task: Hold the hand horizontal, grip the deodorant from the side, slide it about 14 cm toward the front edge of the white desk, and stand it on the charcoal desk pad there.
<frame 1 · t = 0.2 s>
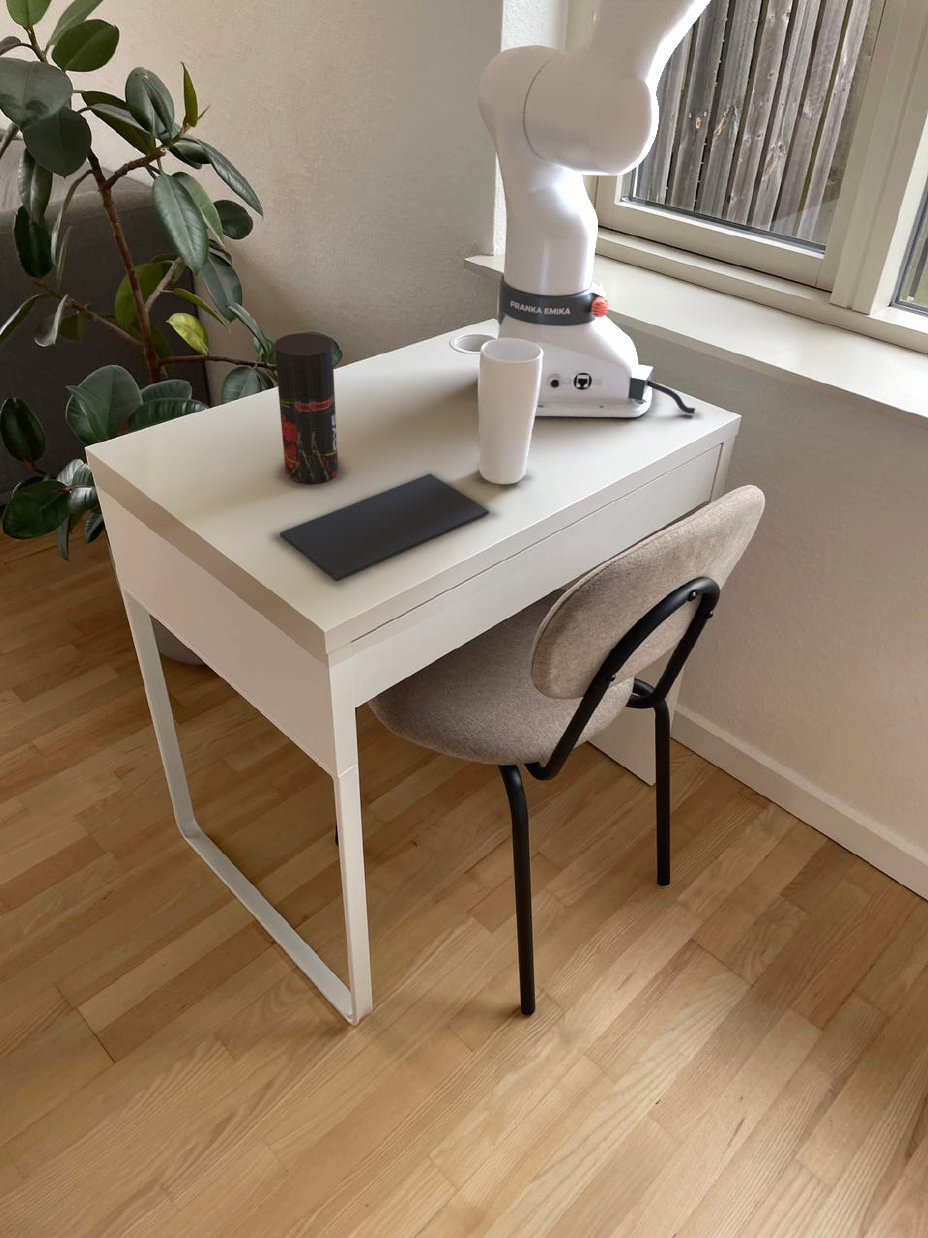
deodorant: (312, 472, 106), on the table
drinking glass: (501, 476, 107), on the table
mat: (387, 524, 98), on the table
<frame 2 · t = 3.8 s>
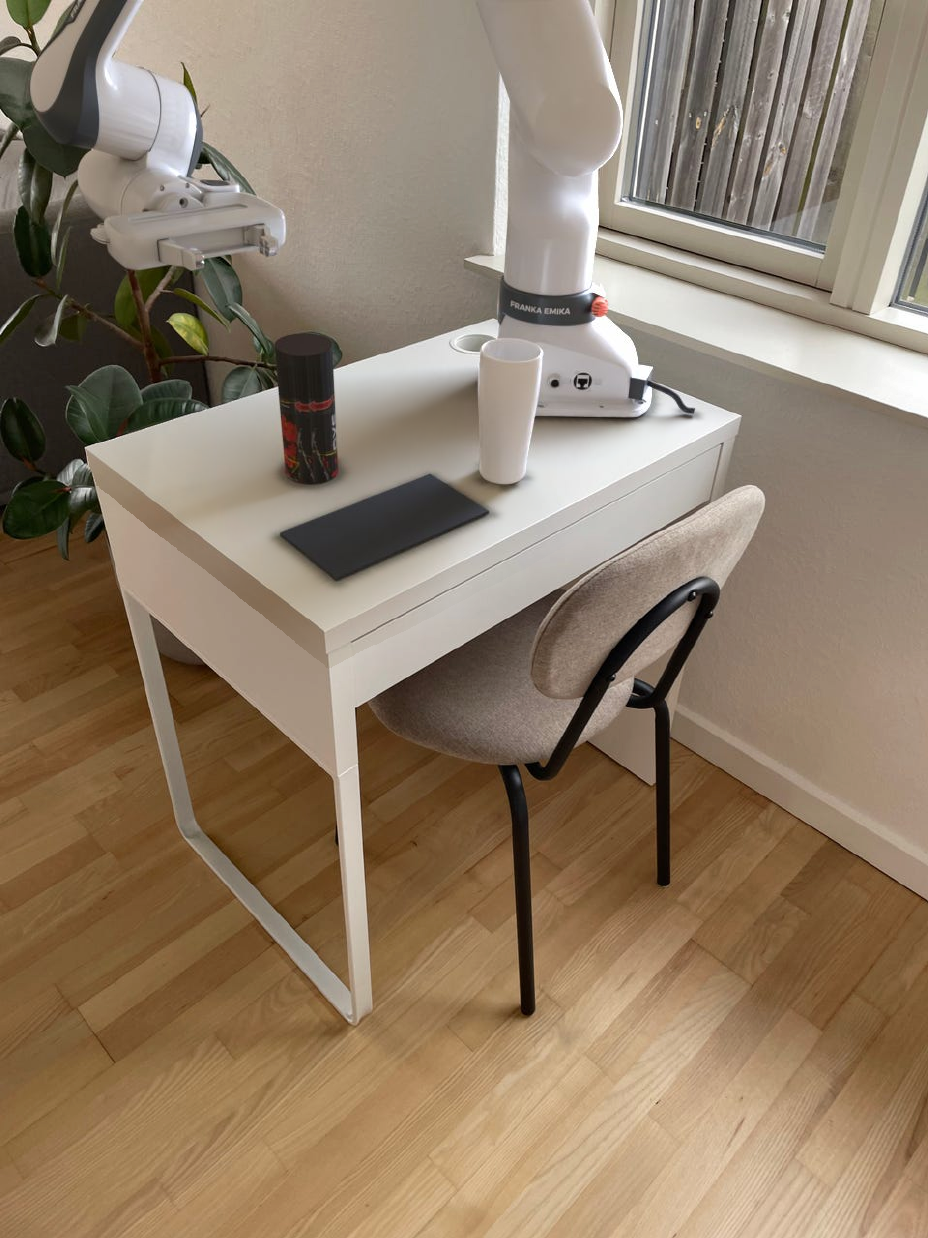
hand: (237, 255, 100), 21 cm above the table, tool horizontal, fingers open, 8 cm apart
nothing on the table moved.
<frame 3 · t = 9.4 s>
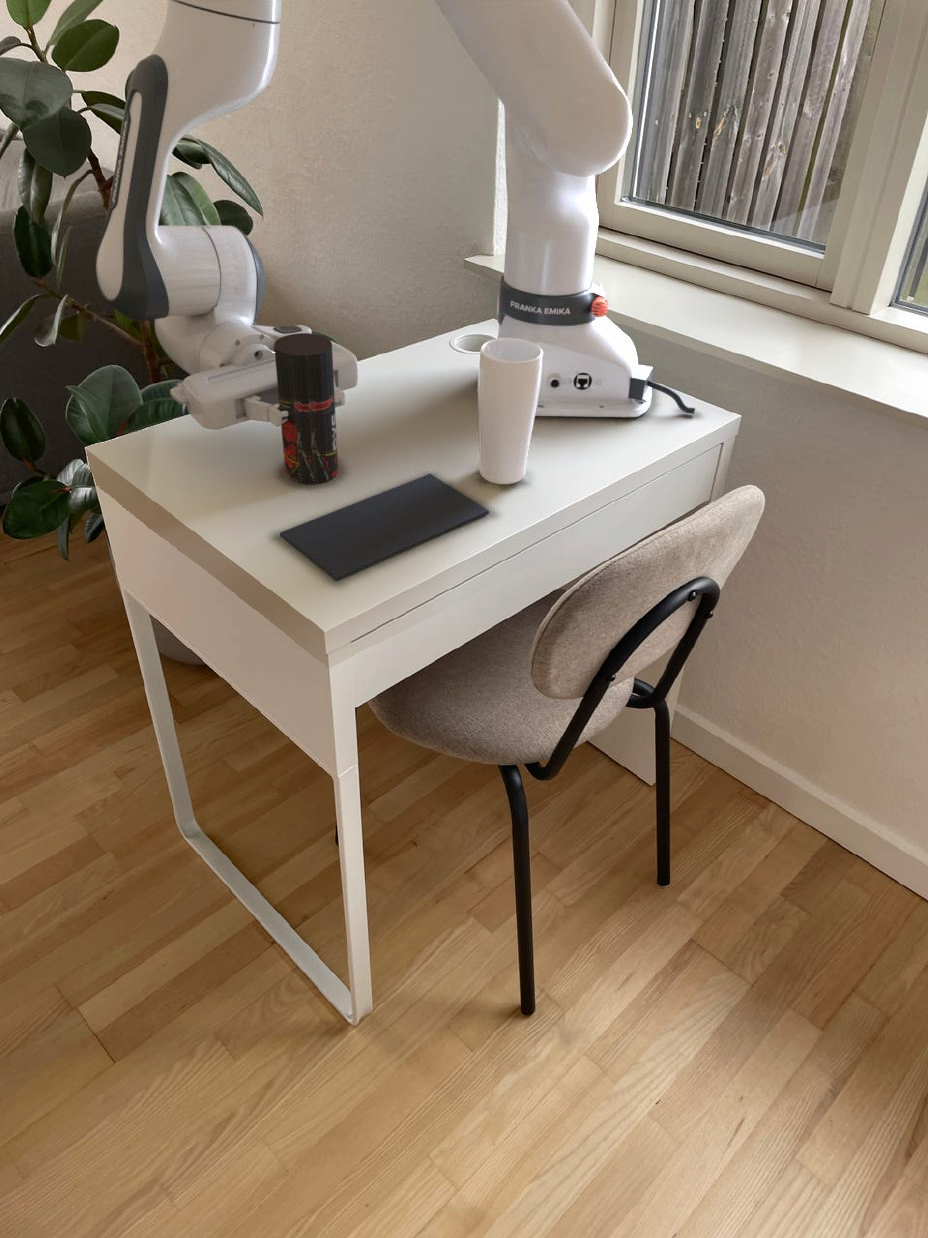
hand: (312, 409, 101), 8 cm above the table, tool horizontal, fingers closed on deodorant, 6 cm apart
deodorant: (312, 472, 106), on the table, touching gripper
everything else where it was.
when the fingers open (8 cm above the table, at t = 15.3 s): deodorant stays where it is, resting on mat.
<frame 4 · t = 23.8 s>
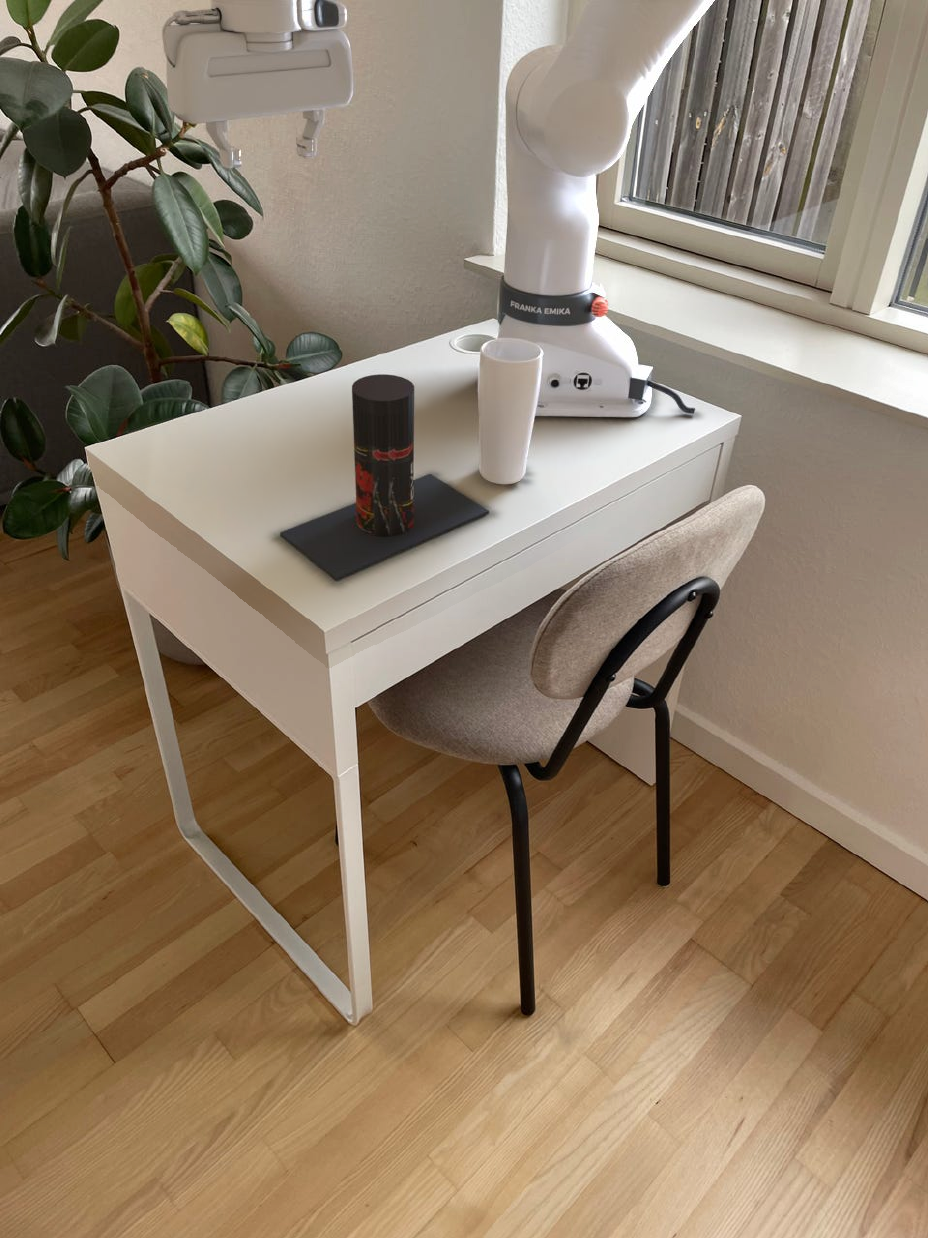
hand: (270, 161, 99), 29 cm above the table, tool pointing down, fingers open, 8 cm apart
deodorant: (385, 522, 98), resting on mat
everything else where it was.
at the end: deodorant 0.2 cm off-centre on the mat, point 0.2 cm above the mat's base; deodorant tilted 0°; the gripper is holding nothing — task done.
